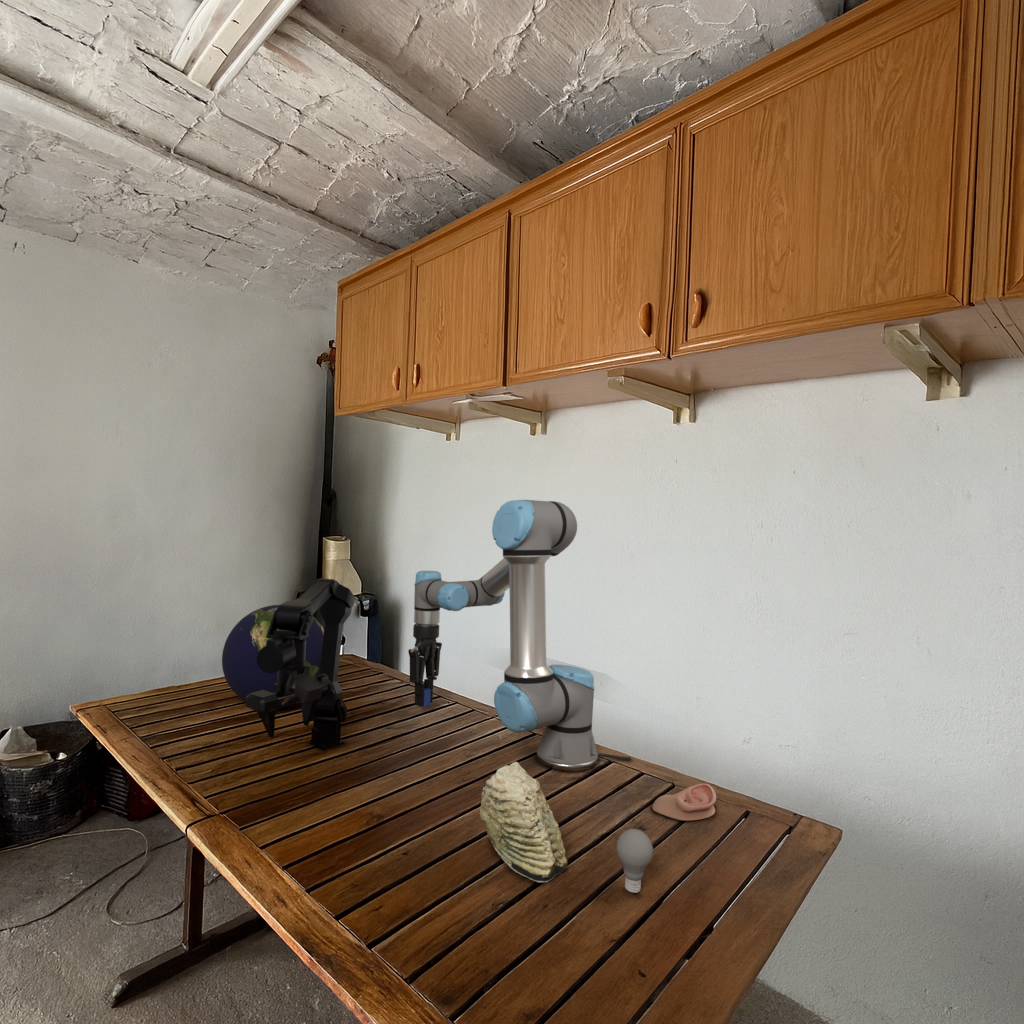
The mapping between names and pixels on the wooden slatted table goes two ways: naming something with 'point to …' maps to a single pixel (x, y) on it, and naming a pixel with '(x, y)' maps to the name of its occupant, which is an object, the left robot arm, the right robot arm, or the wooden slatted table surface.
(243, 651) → the globe
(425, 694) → the cylinder
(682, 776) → the wooden slatted table surface
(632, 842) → the light bulb
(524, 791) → the fossil
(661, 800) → the anatomical model
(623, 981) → the wooden slatted table surface
